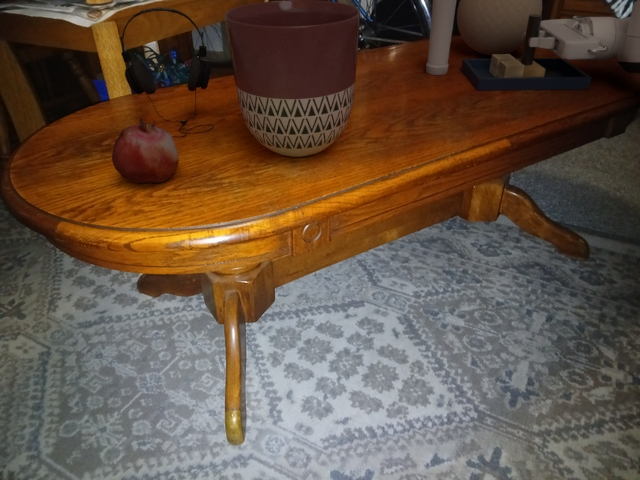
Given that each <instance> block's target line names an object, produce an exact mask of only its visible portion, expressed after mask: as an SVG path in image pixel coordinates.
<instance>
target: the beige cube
mask: <svg viewBox="0 0 640 480" xmlns="http://www.w3.org/2000/svg"><path fill="white" fill-rule="evenodd" d="M523 71H524V65H523V64H522V63H521V62H519V61H518V60H513V61H500V63H499V69H498V75H497V78H515V77H522V75H523Z"/></svg>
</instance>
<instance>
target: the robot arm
mask: <svg viewBox="0 0 640 480" xmlns="http://www.w3.org/2000/svg"><path fill="white" fill-rule="evenodd" d="M632 5H633V6H632V8H631V13H630V16H627V17H623V18H618V17H614V16H585V15H574V16H572V18H558V19H557V18H556V19H544V20H541V24H540V29H539V34H538V37H529V39H528V45H529V46H530V47H536V48H540V49H546V50H550V51H551V52H552V53H554V54H555V55H556V56H557V57H558V58H562V59H565V60H567V61H576V60H578V61H580V62H589V61H590V62H593V61H594V62H595V61H596V62H597V61H598V62H599V61H601V62H602V61H607V60H612V59H613V60H617V63H618V65H619V66H620V67H621V68H622V69H623V71H624V72H626V73H628V74H640V0H633V2H632ZM525 35H526V32H525V33H524V34H523V38H522V40H523V41H524V40H525Z"/></svg>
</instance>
